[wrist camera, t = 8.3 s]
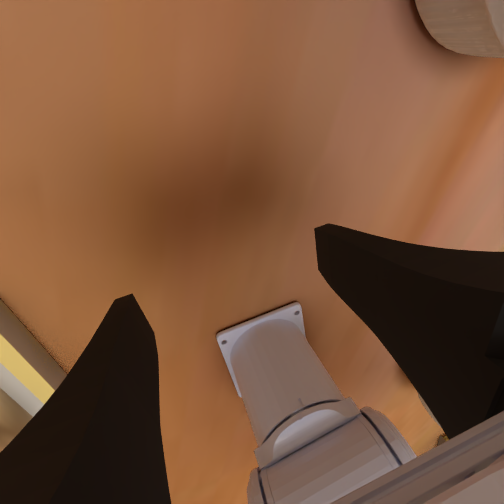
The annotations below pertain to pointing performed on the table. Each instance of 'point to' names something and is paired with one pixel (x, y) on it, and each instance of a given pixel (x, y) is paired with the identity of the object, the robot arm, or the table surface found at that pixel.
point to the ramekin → (466, 25)
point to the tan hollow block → (11, 419)
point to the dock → (25, 365)
